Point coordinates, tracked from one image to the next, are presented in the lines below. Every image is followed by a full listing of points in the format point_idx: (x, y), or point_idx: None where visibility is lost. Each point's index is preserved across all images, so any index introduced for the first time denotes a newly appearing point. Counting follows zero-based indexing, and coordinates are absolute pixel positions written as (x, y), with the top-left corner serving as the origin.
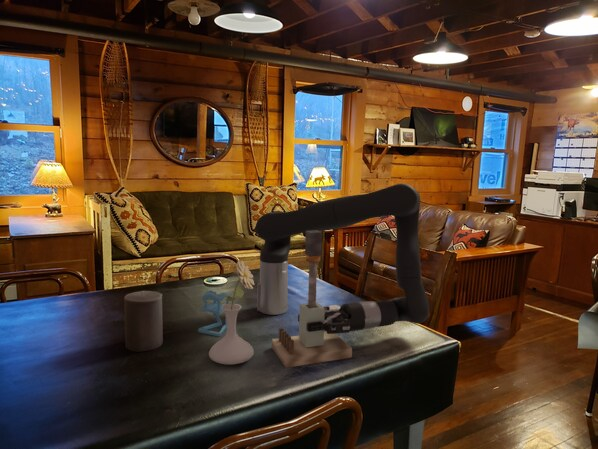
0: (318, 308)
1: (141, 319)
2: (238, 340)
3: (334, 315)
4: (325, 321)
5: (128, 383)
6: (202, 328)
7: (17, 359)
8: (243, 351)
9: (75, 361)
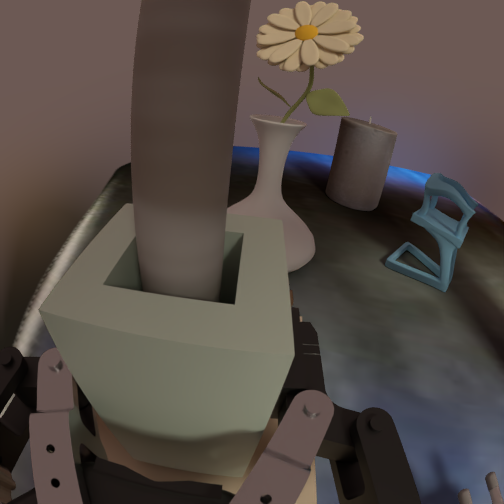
0: (84, 267)
1: (336, 144)
2: (246, 208)
3: (66, 500)
4: (50, 372)
5: (234, 174)
6: (411, 247)
7: (323, 156)
8: None
9: (309, 167)
